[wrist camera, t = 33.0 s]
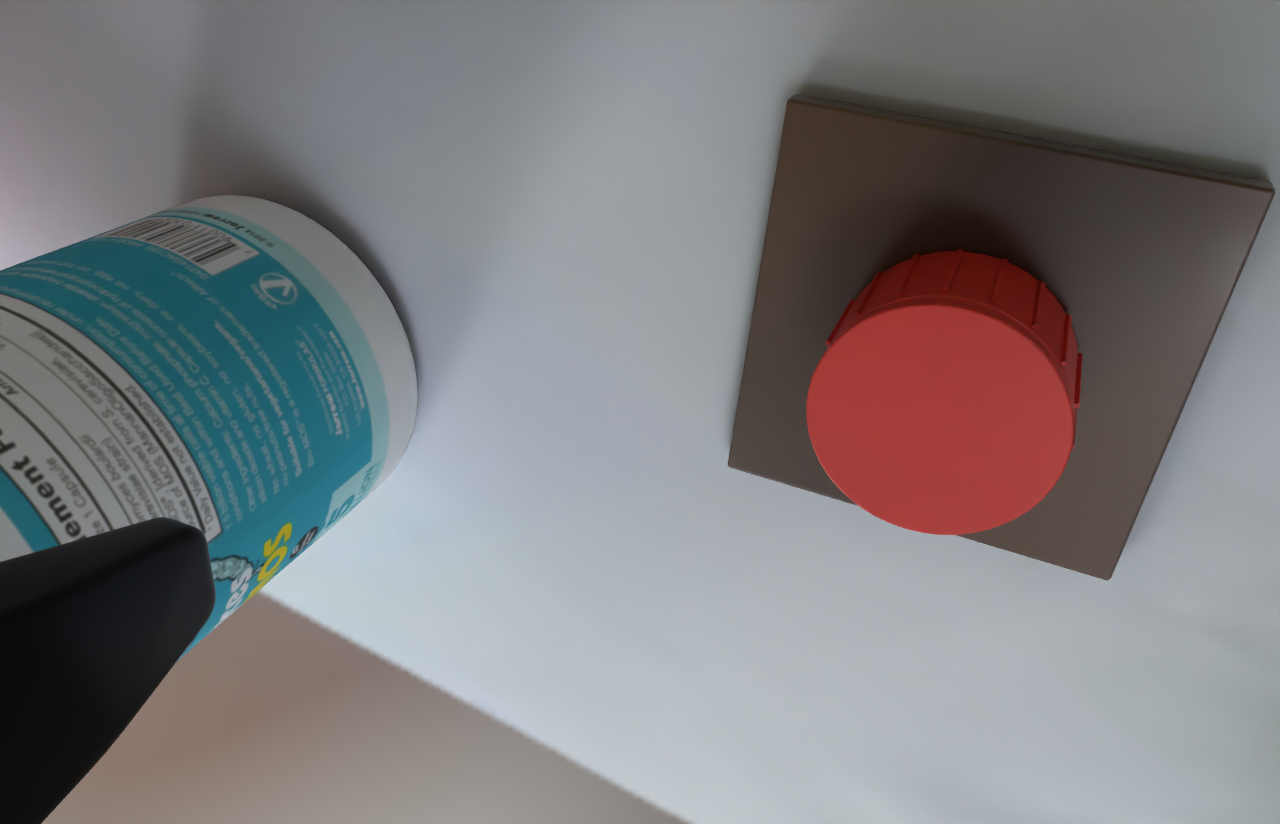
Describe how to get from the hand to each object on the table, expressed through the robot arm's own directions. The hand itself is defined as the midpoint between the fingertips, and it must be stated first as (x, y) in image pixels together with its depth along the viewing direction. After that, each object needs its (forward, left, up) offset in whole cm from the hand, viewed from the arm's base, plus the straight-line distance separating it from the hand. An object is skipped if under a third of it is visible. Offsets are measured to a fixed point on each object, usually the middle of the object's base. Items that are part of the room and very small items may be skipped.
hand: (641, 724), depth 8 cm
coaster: (-2, +1, -11) cm, 11 cm away
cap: (-2, +1, -8) cm, 8 cm away
